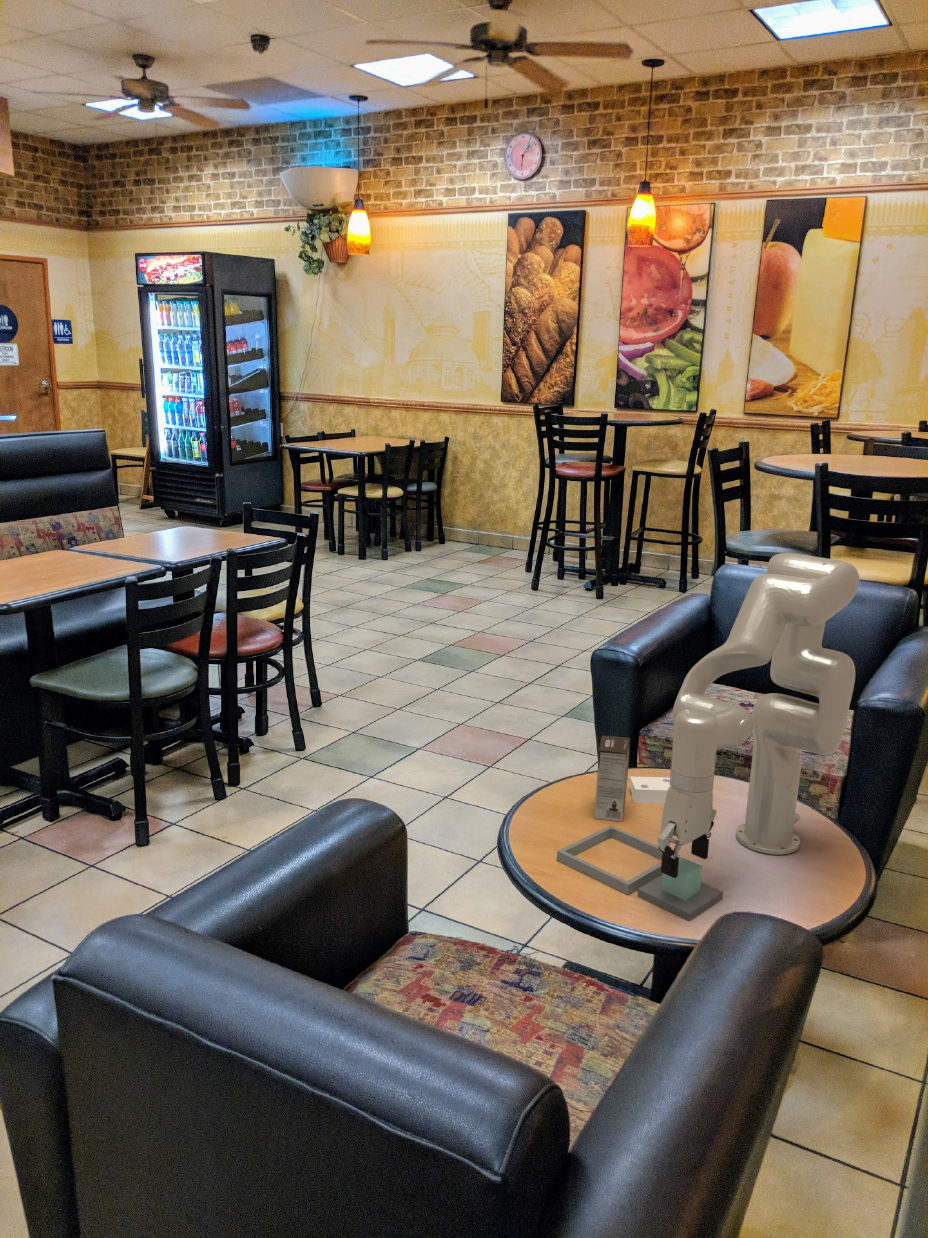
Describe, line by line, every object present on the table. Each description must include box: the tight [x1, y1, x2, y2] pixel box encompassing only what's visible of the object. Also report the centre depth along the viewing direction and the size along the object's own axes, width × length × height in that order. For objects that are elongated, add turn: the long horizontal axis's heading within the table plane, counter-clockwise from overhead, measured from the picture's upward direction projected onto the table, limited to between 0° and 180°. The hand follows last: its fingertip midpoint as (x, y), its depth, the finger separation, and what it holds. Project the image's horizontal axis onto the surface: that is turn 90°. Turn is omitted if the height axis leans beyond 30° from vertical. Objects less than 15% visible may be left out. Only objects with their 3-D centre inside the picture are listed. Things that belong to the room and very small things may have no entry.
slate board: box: [636, 874, 724, 922], centre depth 173 cm, size 11×11×2 cm
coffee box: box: [594, 735, 631, 823], centre depth 205 cm, size 9×6×16 cm
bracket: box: [628, 775, 670, 805], centre depth 214 cm, size 13×7×8 cm, turn 89°
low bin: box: [556, 824, 681, 895], centre depth 185 cm, size 17×17×2 cm
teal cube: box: [661, 855, 703, 900], centre depth 172 cm, size 5×5×5 cm
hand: (684, 865), depth 172 cm, fingers open, 9 cm apart
